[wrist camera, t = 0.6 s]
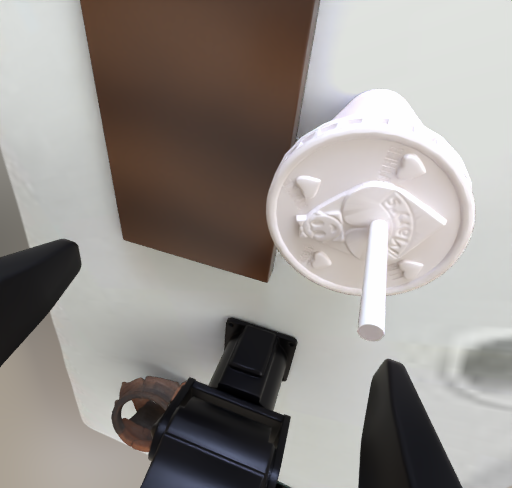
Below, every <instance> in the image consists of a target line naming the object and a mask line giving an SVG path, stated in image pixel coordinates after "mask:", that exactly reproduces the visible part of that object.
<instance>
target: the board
mask: <svg viewBox="0 0 512 488" xmlns="http://www.w3.org/2000/svg"><path fill="white" fill-rule="evenodd" d="M80 3H81V9H82V14H83V20H84V25H85V31H86V36H87V42H88V47H89V53H90V58H91V64H92V69H93V75H94V81H95V86H96V92H97V97H98V103H99V108H100V114H101V119H102V125H103V130H104V136H105V141H106V147H107V152H108V158H109V163H110V169H111V174H112V180H113V185H114V191H115V196H116V202H117V207H118V213H119V219H120V224H121V230H122V235H123V239H124V240H126V241H129V242H133V243H136V244H139V245H143V246H146V247H149V248H153V249H156V250H159V251H163V252H166V253H169V254H173V255H176V256H179V257H183V258H186V259H189V260H193V261H196V262H199V263H202V264H206V265H209V266H212V267H216V268H219V269H222V270H226V271H229V272H232V273H236V274H239V275H242V276H246V277H249V278H252V279H256V280H259V281H262V282H266V283H267V282H268V280H269V278H270V276H271V273H272V271H273V266H274V261H275V255H276V249H277V247H276V245H275V244H274V242H273V239H272V237H271V235H270V232H269V228H268V224H267V218H266V202H267V195H268V191H269V188H270V185H271V183H272V180H273V178H274V174H275V172H276V170H277V169H278V167H279V165H280V163H281V161H282V159H283V157H284V155H285V154H286V153H287V152H288V151H289V150H290V149H291V148H292V147H293V146H294V145H295V141H296V136H297V130H298V124H299V119H300V113H301V107H302V101H303V96H304V90H305V84H306V79H307V73H308V67H309V62H310V56H311V50H312V45H313V39H314V33H315V28H316V22H317V16H318V10H319V5H320V0H80Z"/></svg>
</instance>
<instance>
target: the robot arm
mask: <svg viewBox="0 0 512 488" xmlns="http://www.w3.org/2000/svg"><path fill="white" fill-rule="evenodd" d="M80 268H81V258H80V253H79V248H78V245H77V244H76V243H75V242H72V241H70V240H67V239H59V240H56V241H52V242H49V243H46V244H42V245H39V246H36V247H33V248H29V249H26V250H23V251H19V252H16V253H13V254H10V255H7V256H3V257H0V367H1V365H2V364H3V363H4V362H5V361H6V360H7V359H8V358H9V356H10V355H11V354H12V353H13V352H14V351H15V350H16V349H17V348H18V347H19V345H20V344H21V343H22V342H23V341H24V340H25V339H26V338H27V337H28V335H29V334H30V333H31V332H32V331H33V330H34V329H35V328H36V326H37V325H38V324H39V323H40V322H41V321H42V320H43V319H44V318H45V316H46V315H47V314H48V313H49V312H50V310H51V309H52V308H53V306H54V305H55V304H56V302H57V301H58V300H59V298H60V297H61V296H62V294H63V293H64V291H65V290H66V289H67V287H68V286H69V285H70V283H71V282H72V280H73V279H74V278H75V276H76V275H77V274H78V272H79V271H80ZM296 346H297V340H296V339H295V338H293V337H290V336H287V335H284V334H281V333H278V332H275V331H272V330H268V329H265V328H262V327H259V326H256V325H253V324H250V323H247V322H244V321H241V320H238V319H235V318H229V319H228V320H227V322H226V333H225V347H224V353H223V355H222V357H221V359H220V361H219V364H218V366H217V368H216V370H215V372H214V374H213V377H212V379H211V381H210V383H209V385H205V384H203V383H200V382H198V381H196V379H193V378H191V377H189V379H188V380H187V382H186V383H185V385H182V386H181V388H180V390H179V391H178V393H177V394H176V396H175V397H174V399H173V400H172V402H171V403H170V405H169V406H168V408H167V409H166V411H165V413H164V414H163V415H162V416H161V417H160V418H159V419H158V421H157V422H156V423H155V424H154V425H153V427H152V429H151V436H152V443H151V447H150V450H149V455H148V456H149V457H148V458H149V460H150V461H152V462H151V464H150V467H149V469H148V471H147V474H146V476H145V478H144V481H143V483H142V485H141V487H140V488H275V487H276V484H277V480H278V476H279V472H280V468H281V463H282V458H283V453H284V448H285V443H286V438H287V433H288V428H289V423H290V418H291V417H290V416H288V415H285V414H284V415H282V414H279V413H277V412H274V411H273V410H274V406H275V403H276V399H277V396H278V392H279V389H280V385H281V382H282V381H286V380H287V377H288V374H289V370H290V367H291V363H292V360H293V356H294V353H295V349H296ZM358 488H462V486H461V484H460V482H459V480H458V477H457V475H456V473H455V471H454V469H453V467H452V465H451V463H450V461H449V459H448V457H447V454H446V452H445V450H444V448H443V446H442V444H441V442H440V440H439V438H438V436H437V433H436V431H435V429H434V427H433V425H432V423H431V421H430V419H429V417H428V415H427V413H426V410H425V408H424V406H423V404H422V402H421V400H420V398H419V396H418V394H417V392H416V390H415V387H414V385H413V383H412V381H411V379H410V377H409V375H408V373H407V371H406V369H405V367H404V365H403V364H401V363H399V362H396V361H394V360H391V359H386V360H385V361H384V362H383V363H382V365H381V366H380V367H379V369H378V370H377V371H376V373H375V374H374V376H373V378H372V382H371V387H370V392H369V398H368V404H367V410H366V415H365V421H364V427H363V433H362V439H361V450H360V468H359V486H358Z"/></svg>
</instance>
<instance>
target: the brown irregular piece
mask: <svg viewBox="0 0 512 488" xmlns="http://www.w3.org/2000/svg"><path fill="white" fill-rule="evenodd" d="M185 383H186V382H184V383H182V384H181V385H179V383H178V382H174V381H171V380H167V379H163V378H158V377H152V376H147V377H146V379H145V380H144V379H143V378H138V379H135V380H134V381H131V382H129V383H126V382H123V383H122V386H121V389H120V397H119V400H116V401H115V407H114V409H113V411H112V423H113V427H114V429H115V431H116V433H117V434H118V435H119V437H120V438H121V439H122V440H123V441H124V442H125V443H126V444H127V445H128V446H132V448H134V449H136V450H139V451H143V452H149V450H150V447H151V443H152V436H151V429H152V427H153V425H154V424H155V423H156V422H157V421H158V419H159V418H160V417H161V416H162V415H163V414H164V413H165V411H166V409H167V408H168V405H169V403H171V402H172V400H173V399H174V397H175V396H176V394H177V393H178V391H179V390H180V388H181V386H182V385H185ZM130 400H132V402H133V403H134V406H135V409H136V411H137V413H136V414H135V415H134V416H133V417H132V418H130V419H129V420H128V419H126V418H123V419H122V418H121V410H122V407H123V405H124V404H125V403H126V402H128V401H130ZM153 401H154V402H155V403H154V402H153Z"/></svg>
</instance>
